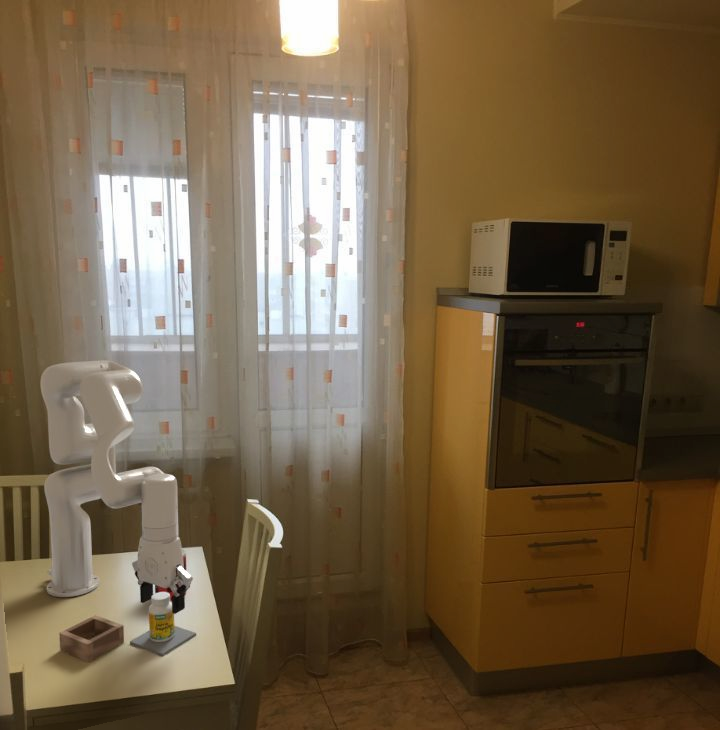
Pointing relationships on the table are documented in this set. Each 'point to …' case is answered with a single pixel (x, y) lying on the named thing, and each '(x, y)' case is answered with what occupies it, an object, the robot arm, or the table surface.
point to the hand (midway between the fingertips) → (162, 605)
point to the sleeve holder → (88, 650)
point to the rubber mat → (163, 647)
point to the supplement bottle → (161, 618)
